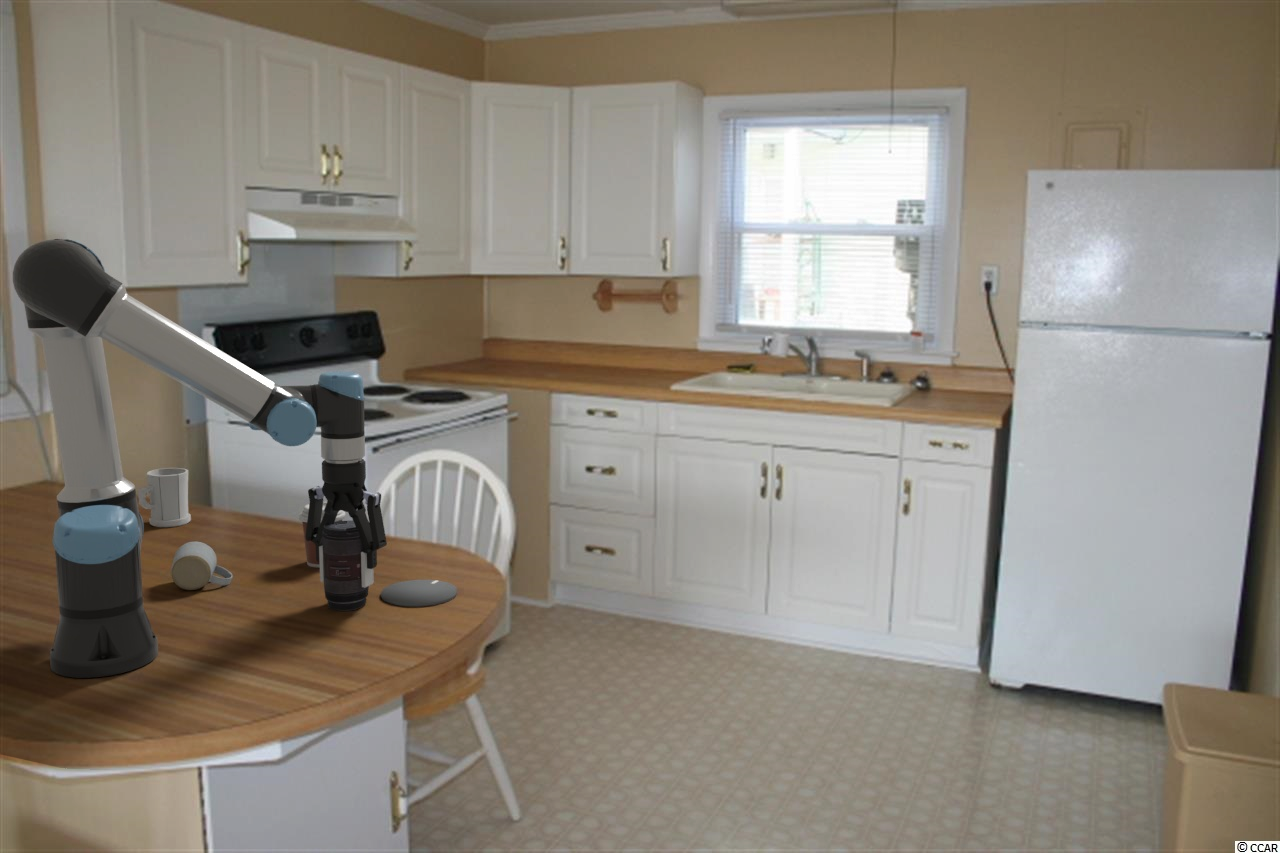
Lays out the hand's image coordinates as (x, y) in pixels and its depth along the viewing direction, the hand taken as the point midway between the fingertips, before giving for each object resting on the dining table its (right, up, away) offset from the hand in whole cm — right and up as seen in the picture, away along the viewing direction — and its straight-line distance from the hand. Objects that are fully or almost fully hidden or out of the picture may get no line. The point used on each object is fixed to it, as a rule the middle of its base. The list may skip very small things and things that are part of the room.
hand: (346, 582), depth 197 cm
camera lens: (0, -4, +1) cm, 4 cm away
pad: (+12, -3, +7) cm, 14 cm away
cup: (-55, +6, +52) cm, 76 cm away
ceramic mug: (-31, -2, +10) cm, 32 cm away
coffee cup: (-12, 0, +25) cm, 28 cm away
